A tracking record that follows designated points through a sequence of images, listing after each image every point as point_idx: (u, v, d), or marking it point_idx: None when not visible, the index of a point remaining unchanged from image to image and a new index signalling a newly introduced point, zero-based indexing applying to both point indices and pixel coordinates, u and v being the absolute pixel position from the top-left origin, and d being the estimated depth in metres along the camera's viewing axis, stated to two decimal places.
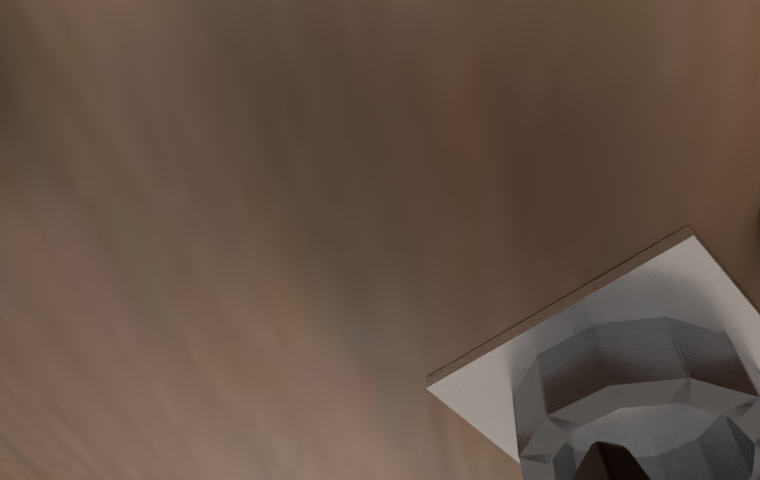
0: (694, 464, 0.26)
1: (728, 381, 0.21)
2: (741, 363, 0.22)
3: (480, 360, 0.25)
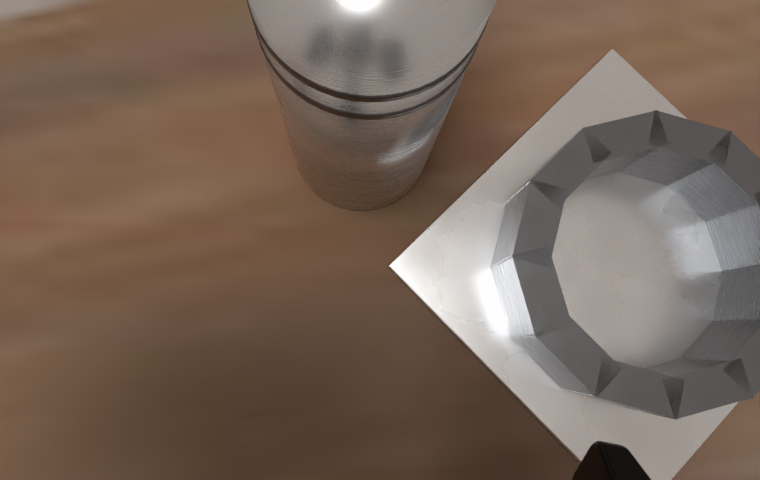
0: (692, 188, 0.22)
1: (520, 211, 0.20)
2: (517, 192, 0.21)
3: (580, 453, 0.21)
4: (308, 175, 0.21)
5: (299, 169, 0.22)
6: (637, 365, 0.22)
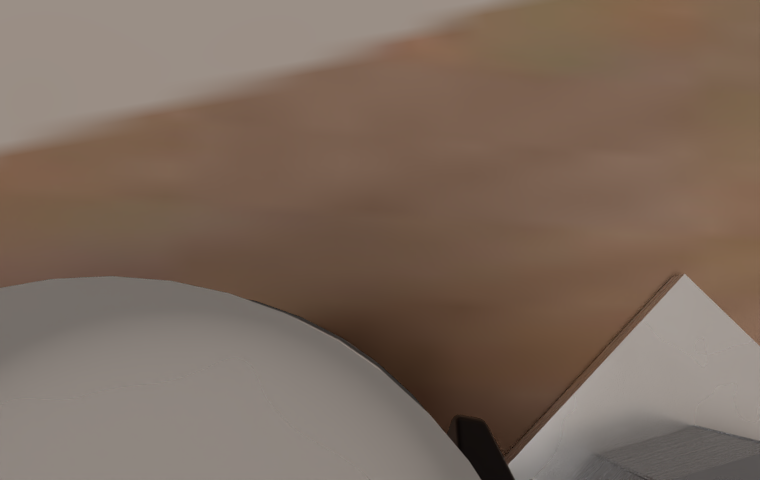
0: None
1: None
2: None
3: None
4: None
5: None
6: None
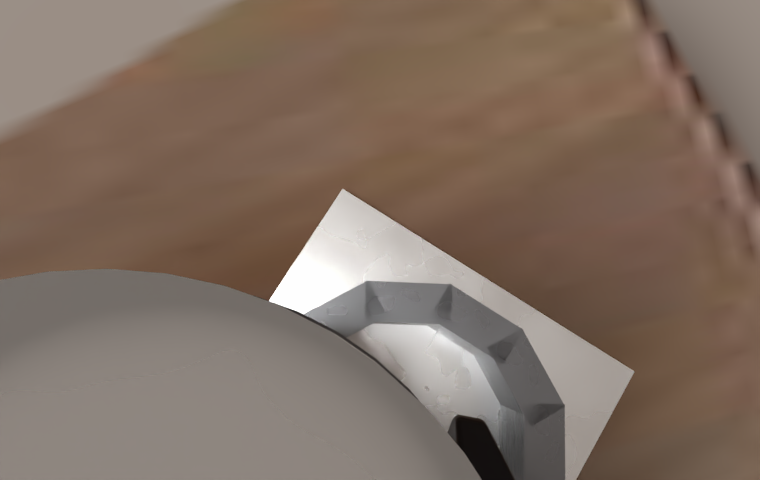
0: (443, 332, 0.20)
1: None
2: None
3: None
4: None
5: None
6: None
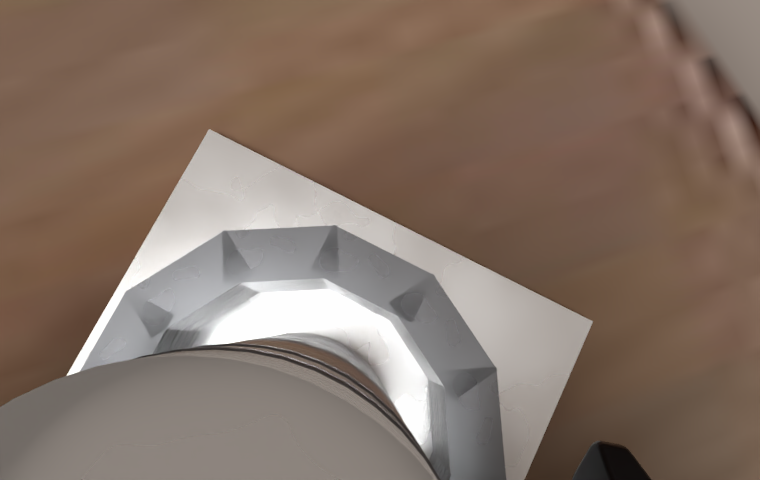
0: (343, 294, 0.16)
1: None
2: None
3: None
4: None
5: None
6: None
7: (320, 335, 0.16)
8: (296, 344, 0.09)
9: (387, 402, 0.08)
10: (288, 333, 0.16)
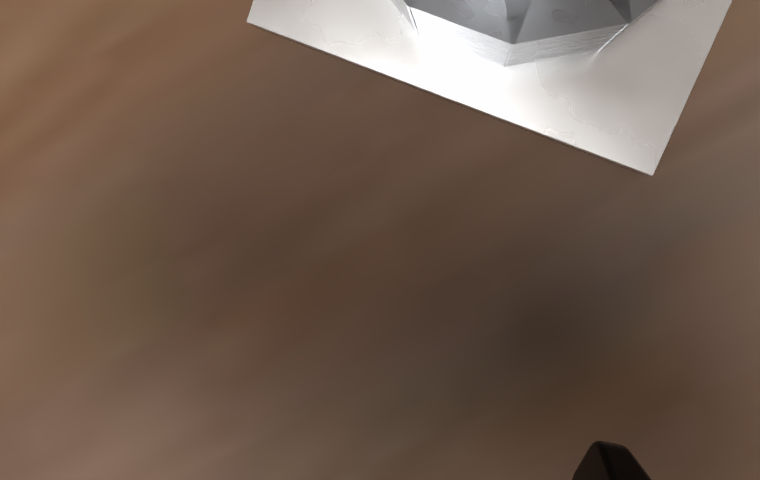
0: None
1: None
2: None
3: (555, 132, 0.17)
4: None
5: None
6: None
7: None
8: None
9: None
10: None
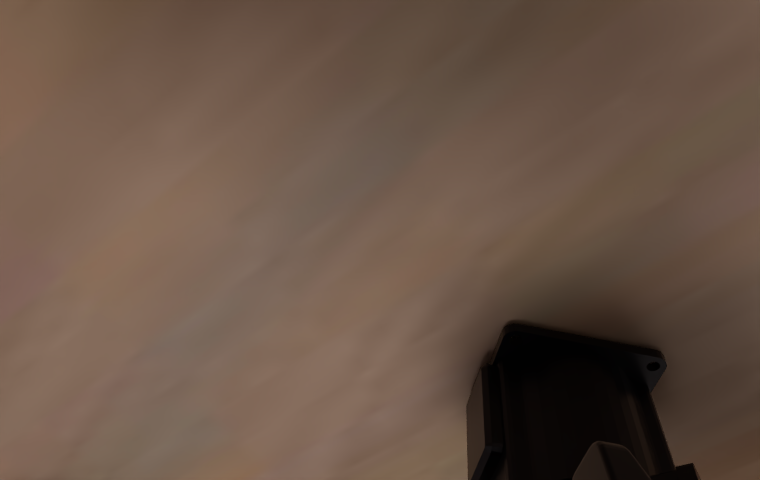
0: None
1: None
2: None
3: None
4: None
5: None
6: None
7: None
8: None
9: None
10: None
